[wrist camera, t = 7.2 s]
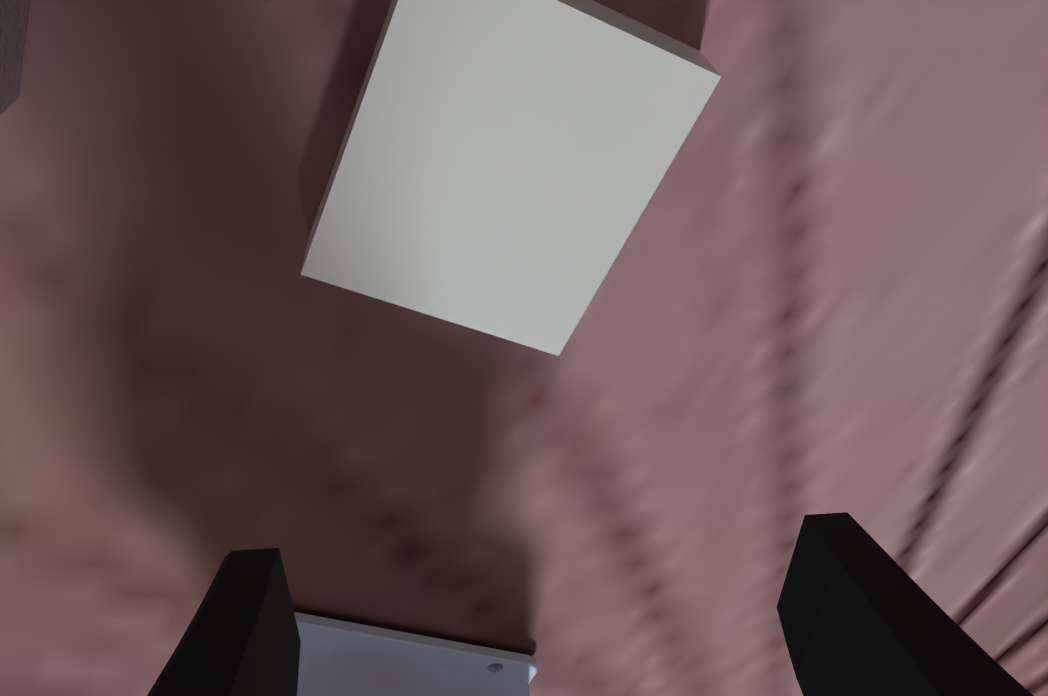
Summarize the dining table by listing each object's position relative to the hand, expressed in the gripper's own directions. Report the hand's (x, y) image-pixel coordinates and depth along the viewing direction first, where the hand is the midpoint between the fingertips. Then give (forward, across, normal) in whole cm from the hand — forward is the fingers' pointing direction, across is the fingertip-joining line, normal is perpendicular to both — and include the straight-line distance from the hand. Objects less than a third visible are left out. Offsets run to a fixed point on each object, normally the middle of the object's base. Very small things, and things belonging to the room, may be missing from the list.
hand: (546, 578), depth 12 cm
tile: (+10, 0, -2) cm, 10 cm away
